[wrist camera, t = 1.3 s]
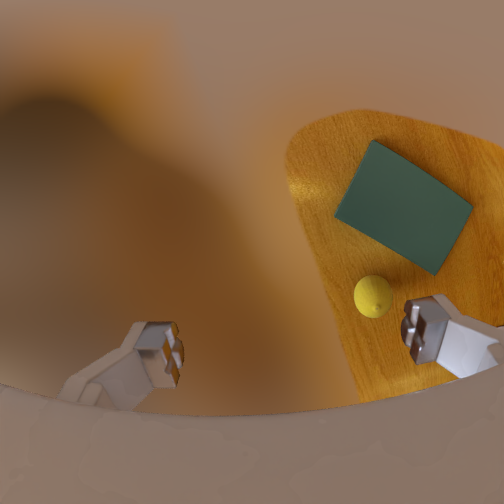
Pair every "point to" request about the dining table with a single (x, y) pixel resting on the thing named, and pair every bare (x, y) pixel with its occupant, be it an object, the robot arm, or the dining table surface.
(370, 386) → the dining table surface
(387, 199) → the cutting board
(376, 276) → the lemon
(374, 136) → the dining table surface
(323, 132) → the dining table surface
